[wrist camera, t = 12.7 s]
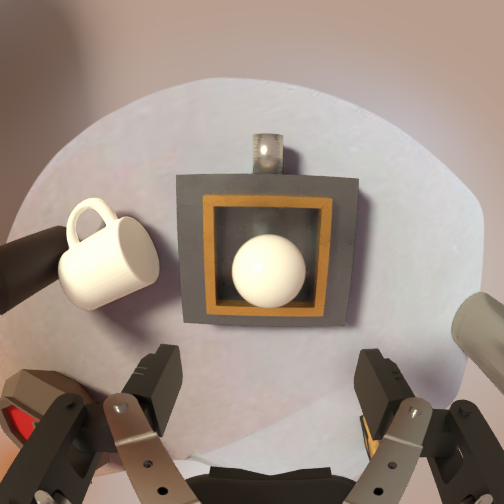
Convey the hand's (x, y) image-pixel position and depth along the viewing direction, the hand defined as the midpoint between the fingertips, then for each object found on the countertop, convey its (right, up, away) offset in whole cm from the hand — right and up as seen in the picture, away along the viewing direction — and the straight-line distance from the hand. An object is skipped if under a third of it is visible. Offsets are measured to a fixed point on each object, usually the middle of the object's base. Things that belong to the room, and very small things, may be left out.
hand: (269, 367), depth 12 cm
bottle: (-27, +5, +23) cm, 36 cm away
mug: (-18, +6, +23) cm, 30 cm away
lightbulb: (+1, +5, +21) cm, 22 cm away
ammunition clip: (+20, -26, +30) cm, 45 cm away
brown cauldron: (-35, -23, +31) cm, 53 cm away
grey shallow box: (+1, +8, +22) cm, 23 cm away
